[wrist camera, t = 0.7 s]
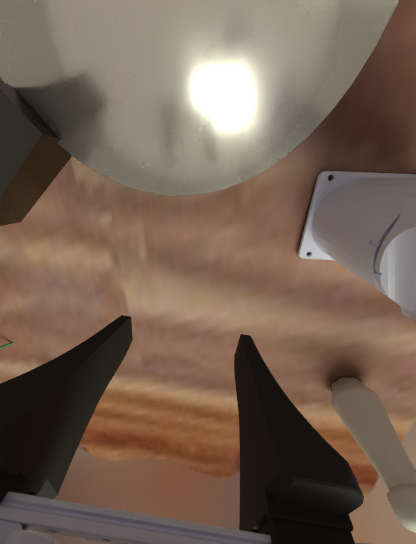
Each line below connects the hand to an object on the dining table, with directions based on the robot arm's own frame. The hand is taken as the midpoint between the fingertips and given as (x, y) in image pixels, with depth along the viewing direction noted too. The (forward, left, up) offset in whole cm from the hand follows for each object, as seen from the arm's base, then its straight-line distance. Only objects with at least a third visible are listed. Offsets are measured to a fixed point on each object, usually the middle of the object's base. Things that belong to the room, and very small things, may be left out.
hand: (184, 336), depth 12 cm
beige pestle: (-22, +18, -11) cm, 30 cm away
